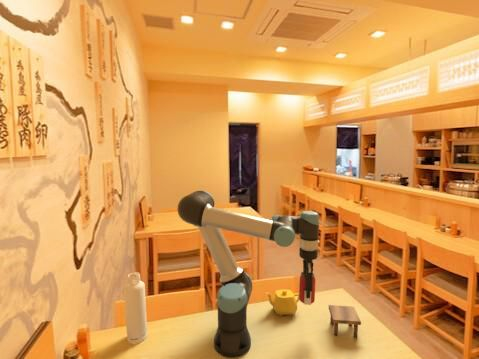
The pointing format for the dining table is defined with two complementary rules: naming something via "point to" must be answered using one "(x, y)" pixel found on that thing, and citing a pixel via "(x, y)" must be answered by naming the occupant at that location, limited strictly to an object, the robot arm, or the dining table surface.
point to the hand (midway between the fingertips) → (306, 299)
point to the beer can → (302, 285)
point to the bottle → (135, 309)
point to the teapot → (284, 302)
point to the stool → (344, 318)
